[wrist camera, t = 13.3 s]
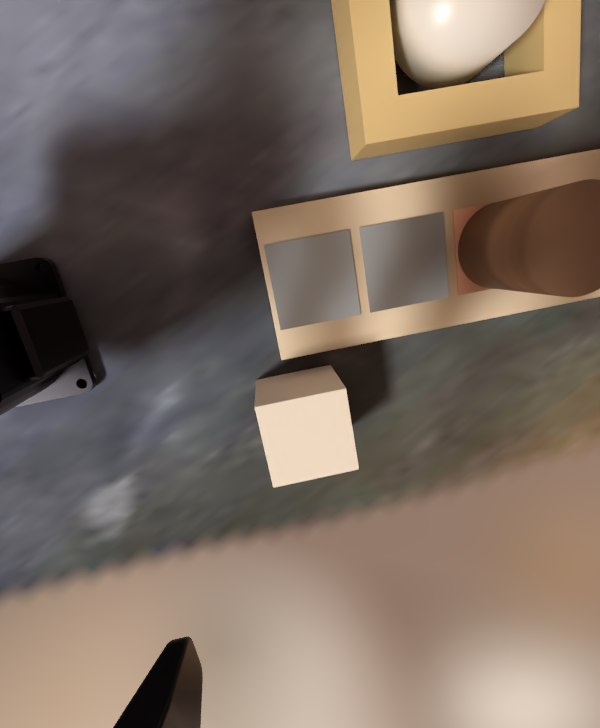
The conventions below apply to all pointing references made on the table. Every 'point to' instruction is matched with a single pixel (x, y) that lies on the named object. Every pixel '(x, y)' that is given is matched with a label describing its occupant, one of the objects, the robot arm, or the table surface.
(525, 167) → the makeup compact
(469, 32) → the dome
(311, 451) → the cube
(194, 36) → the table surface
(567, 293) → the brown capsule
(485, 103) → the box
